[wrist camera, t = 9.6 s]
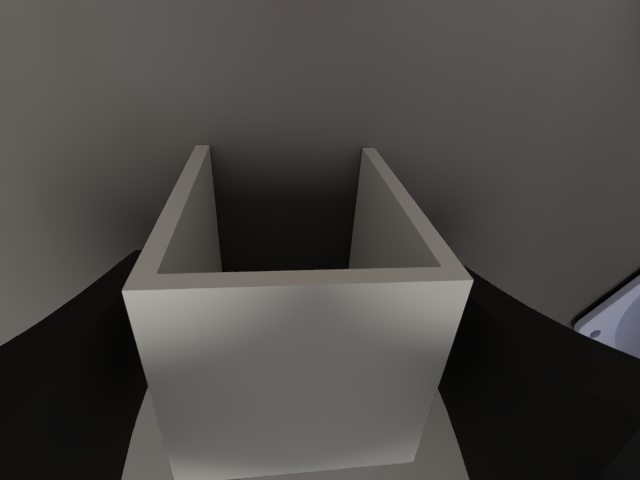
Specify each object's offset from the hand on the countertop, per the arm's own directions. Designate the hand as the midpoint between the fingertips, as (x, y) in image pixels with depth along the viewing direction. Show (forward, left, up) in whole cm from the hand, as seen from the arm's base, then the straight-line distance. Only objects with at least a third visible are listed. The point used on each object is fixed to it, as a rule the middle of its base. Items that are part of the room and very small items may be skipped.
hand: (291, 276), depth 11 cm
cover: (0, 0, -3) cm, 3 cm away
